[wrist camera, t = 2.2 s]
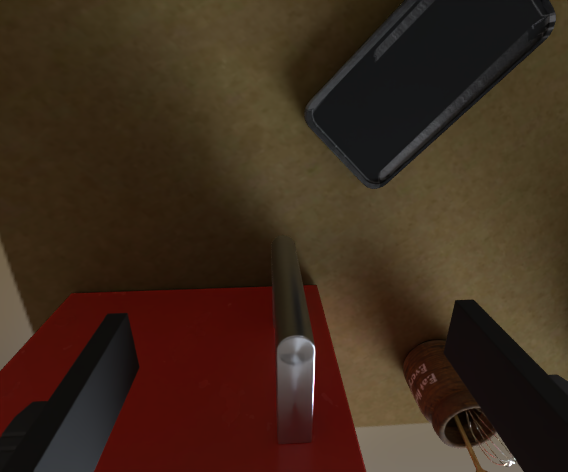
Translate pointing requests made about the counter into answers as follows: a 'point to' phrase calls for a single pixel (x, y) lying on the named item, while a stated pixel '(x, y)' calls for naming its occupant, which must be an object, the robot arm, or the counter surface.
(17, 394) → the red cabinet door
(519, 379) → the robot arm
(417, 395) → the utensil holder
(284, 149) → the counter surface
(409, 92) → the phone
